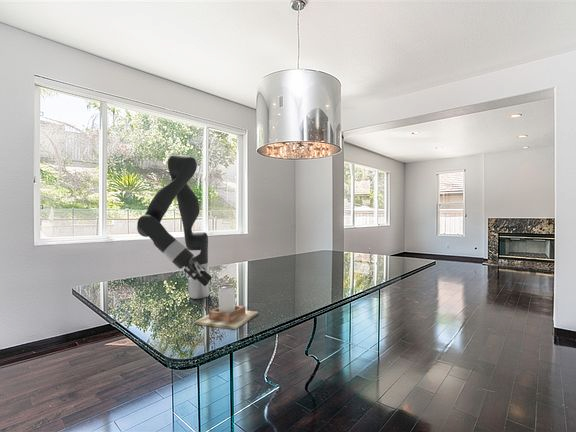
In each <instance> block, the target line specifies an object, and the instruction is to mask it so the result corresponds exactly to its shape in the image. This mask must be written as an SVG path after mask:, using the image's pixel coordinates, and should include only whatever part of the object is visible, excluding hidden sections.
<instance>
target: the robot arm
mask: <svg viewBox="0 0 576 432" xmlns="http://www.w3.org/2000/svg"><path fill="white" fill-rule="evenodd" d="M197 168H198V165H197V161H196V159H195V158H194V157H192V156H189V155H184V154H182V155H181V154H171V155H170V156H169V157H168V160H167V171H168V173H169V175H170V179H171V181H170V182H169V183H167V184H166V185H164V186H163V187H161V188H160V189H159V190H158V191H157V192H156V193H155V194H154V196H153V198H152V200H151V201H150V203H149V204H148V207H147V210H146V212H145V214H143V215H141V216H140V217H139V218H138V219H137V224H136V230H137V232H138V234H139V235H141V236H142V237H146V238H148V237H149V239H150V240H151V241H152V242H153V245H154V246H155V248H157V249H158V250H159V251H160V252H161V253H162V254H163V255H164V256H165V257H166V258H167V259H168V260H169V261H170V262H171V263H173V265H175V266H176V267H177V268H178V269H180V270H181V269H183V271H184V272H185V273H186V274H187V275H188V276H189V278H188V279H187V289H188V294H187V295H188V298H190V299H194V300H195V299H197V300H198V299H204V298H208V297H209V294H210V293H209V292H210V291H209V282H210V281H211V280H212V279H213V277H212V276H211V275H210V274H209V263H208V261H209V260H208V259H209V255H208V254H209V252H208V251H209V237H208V233H207V232H205V231H204V232H201V231H200V232H199V231H198V232H194V231H192V228H193V226H194V224H195V222H196V221H197V219H198V217H199V215H200V204H199V200H198V197H197V195H196V194H195V192H194V191H193V190H192V188H191V187H190V186H189V185H188V183H189V181H190V180H191V179H192V178H193V176H194V175H195V174H196V172H197ZM175 198H176V201H177V205H178V210H179V214H180V217H181V218H180V219H181V221H182V228H183V236H184V243H185V246H184V244H182V243H181V242H180V241H178V240H177V239H176V238H175V237H174V236H173V235H172V234H171V233H169V232H168V231H167V230H166V228H165V227H164V226H163V224H162V223H161V222H162V220H163V217H165V214H166V213H167V212H168V210H169V208H170V206H171V205H172V203H173V201H174V200H175ZM191 251H200V252H199V253H198V254H197V255H194V254H193V252H191Z"/></svg>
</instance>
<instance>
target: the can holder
mask: <svg viewBox="0 0 576 432" xmlns="http://www.w3.org/2000/svg"><path fill="white" fill-rule="evenodd" d="M258 314H259V311H255V310H254V311H253V310H246V306H244V305H236V304H235V311H233V312H232V313H226V312H219V306H217V307H215V308H213V309H211V310H209V311H208V314H207V315H205V316H202V317H201V318H199V319H197V320H195V321H194V325H199V326H204V327H205V326H206V327H212V328H213V327H214V328H221V329H228V330H229V329H230V330H237V329H238V328H240V327H241V326H242V325H244V324H245V323H247V322H249V321H250V320H251V319H253V318H255V317H256V316H257V315H258Z"/></svg>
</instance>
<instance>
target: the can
mask: <svg viewBox="0 0 576 432" xmlns="http://www.w3.org/2000/svg"><path fill="white" fill-rule="evenodd" d="M235 305H236V290H235V288H234V285H233V284H224V285H219V289H218V307H219V312H226V313H232V312H233V311H235Z"/></svg>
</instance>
